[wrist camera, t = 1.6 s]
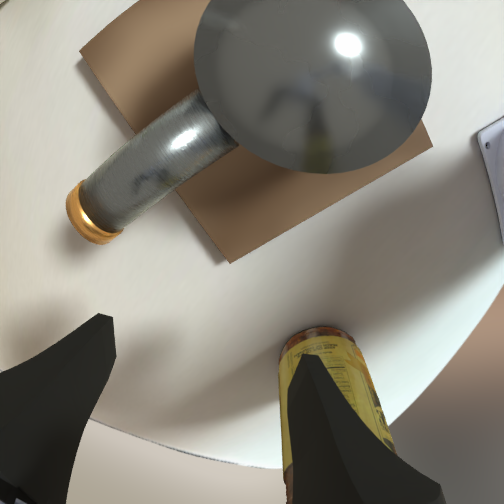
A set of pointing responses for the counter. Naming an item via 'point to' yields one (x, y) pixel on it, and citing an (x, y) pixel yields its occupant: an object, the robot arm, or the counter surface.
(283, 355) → the sauce bottle
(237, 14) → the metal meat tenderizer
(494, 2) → the counter surface
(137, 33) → the thin wooden panel
